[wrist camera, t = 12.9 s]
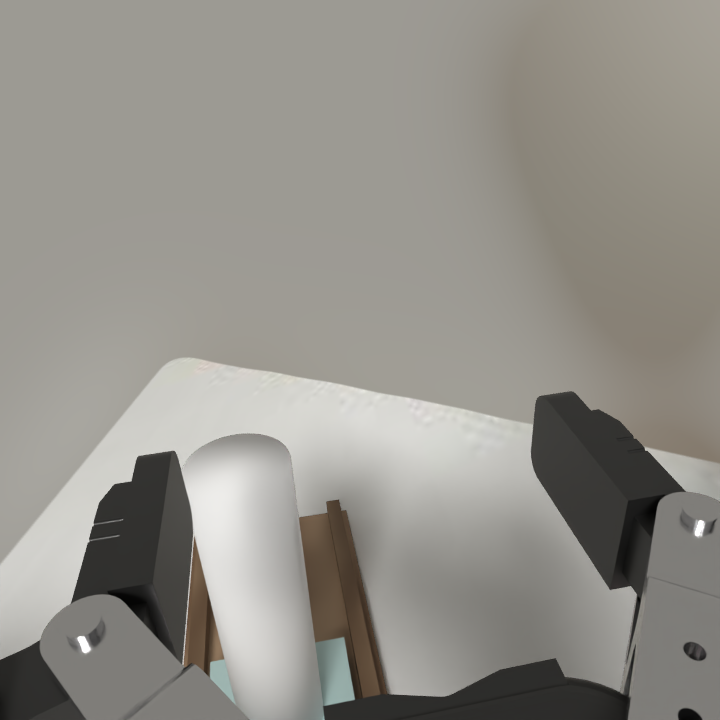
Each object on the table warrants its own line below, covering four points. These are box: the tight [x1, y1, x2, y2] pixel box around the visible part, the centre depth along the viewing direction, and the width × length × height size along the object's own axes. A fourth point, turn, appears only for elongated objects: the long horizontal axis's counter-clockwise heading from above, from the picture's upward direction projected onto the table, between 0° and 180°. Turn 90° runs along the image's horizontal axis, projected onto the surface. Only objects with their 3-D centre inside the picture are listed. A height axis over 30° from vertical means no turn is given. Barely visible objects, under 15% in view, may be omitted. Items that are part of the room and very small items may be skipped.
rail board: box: [184, 500, 387, 700], centre depth 39 cm, size 12×24×4 cm, turn 10°
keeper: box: [181, 434, 355, 720], centre depth 30 cm, size 8×8×18 cm
